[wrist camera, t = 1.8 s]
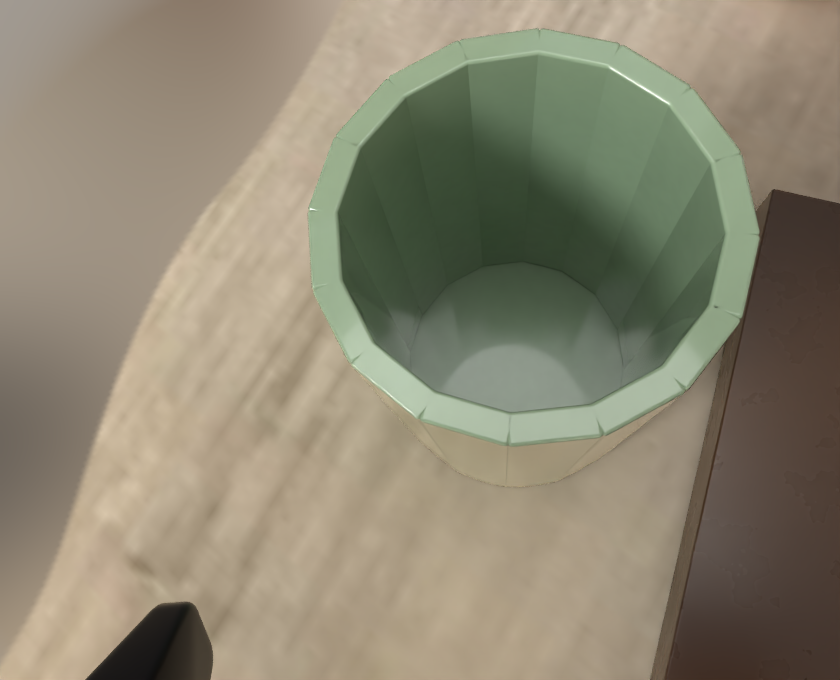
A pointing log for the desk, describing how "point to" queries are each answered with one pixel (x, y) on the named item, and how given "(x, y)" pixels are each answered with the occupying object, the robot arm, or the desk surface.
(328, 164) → the pencil cup
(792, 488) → the walnut board
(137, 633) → the robot arm
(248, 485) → the desk surface
